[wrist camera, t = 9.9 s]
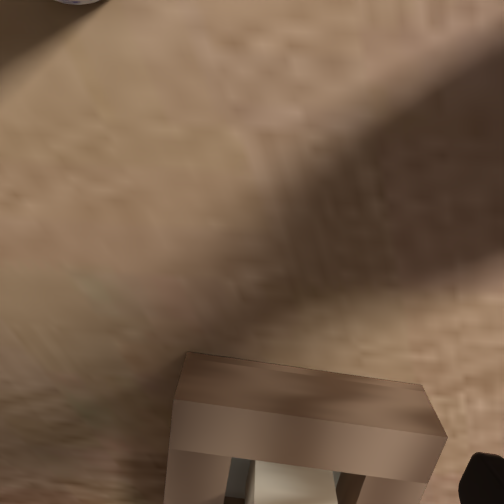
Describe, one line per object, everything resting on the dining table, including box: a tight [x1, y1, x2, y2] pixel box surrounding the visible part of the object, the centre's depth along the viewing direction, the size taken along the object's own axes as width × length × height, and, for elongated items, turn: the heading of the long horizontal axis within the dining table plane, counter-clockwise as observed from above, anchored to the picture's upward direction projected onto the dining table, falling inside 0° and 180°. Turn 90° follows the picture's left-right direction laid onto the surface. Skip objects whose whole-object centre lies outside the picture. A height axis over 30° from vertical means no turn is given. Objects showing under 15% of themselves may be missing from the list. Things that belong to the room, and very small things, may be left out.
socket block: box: [163, 352, 448, 504], centre depth 23 cm, size 12×12×4 cm
